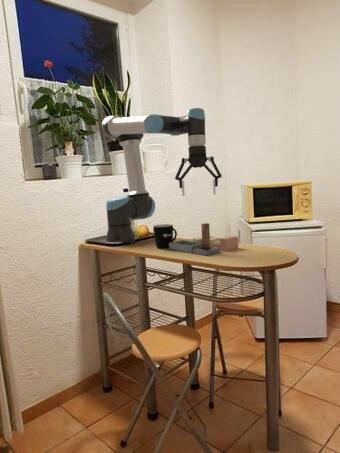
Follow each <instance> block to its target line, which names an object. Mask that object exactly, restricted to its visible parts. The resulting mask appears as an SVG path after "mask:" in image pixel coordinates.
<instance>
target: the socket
mask: <svg viewBox="0 0 340 453" xmlns="http://www.w3.org/2000/svg"><path fill="white" fill-rule="evenodd" d="M192 250H193V253H192V255H193V254H195V255H200V256H206V257H208V256H213V255H216V254H219V253H221V247H212V246H210V249H207V250H205V249H202V247H198V248H193V249H192Z"/></svg>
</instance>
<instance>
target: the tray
mask: <svg viewBox="0 0 340 453" xmlns="http://www.w3.org/2000/svg"><path fill="white" fill-rule="evenodd" d="M198 247H202V243H200V242H193V240H185V239H184V240H183V239H182V240H175V241H173V242H171V243H169V248H168V249H169V250H170V251H175V252H180V253H182V252H183V253H186V254H188V253H189V254H193V250H192V249H193V248H198Z"/></svg>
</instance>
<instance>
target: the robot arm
mask: <svg viewBox="0 0 340 453" xmlns="http://www.w3.org/2000/svg"><path fill="white" fill-rule="evenodd" d="M186 111H187V112H186V115H184V116H172V115H171V116H170V115H162V114H161V115H160V114H158V113H156V114H154V113H153V114H148V115H141V116H140V115H139V116H125V115H124V116H123V115H109V116H107V117H105V118H104V119H103V121H102V122H101V129H102V132H103V134H104V136H106V137H107V138H109V139H113V140H118V142H119V145H120V146H121V147H122V150H123V156H124V157H123V158H124V163H125V168H126V169H125V171H126V176H127V179H126V180H127V183H128V190H129V191H128V194H127V195H121V196H116V197H112V198H109V199H107V201H106V207H105V209H106V216H107V227H108V228H107V232H106V235H105V236H106V237H105V242H106V241H107V242H126V243H131V244H134V243H136V242H135V239H136V236H135V234H134V233H135V232H134V230H133V228H132V221H138V220H146V219H149V218H151V217H152V216H153V214H154V213H155V210H156V202H155V199H154V198H153V197H151V196H150V193H149V192H148V191H147V189H146V184H145V178H144V171H143V163H142V156H141V149H140V144H141V143H142V139H143V138H144V135H145V134H163V135H170V136H172V137H175V136H177V137H178V136H182V135H185V134H187V143H188V146H189V147H188V158H186V157H185V158H184V157H182V158H181V164H180V165H179V168H178V170H177V173H176V175H175V178H174V179H175V180H176V181H178V182H179V183H178V185H179V189H181V192H182V194H181V195H182V197H184V196H186V195H185V181H184V179H185V177H186V176H187V174H189V172H190V171H191V170H192V168H194V169H196V168H201V169H202V168H205V169H206V171H207V172H208V173H209V174H210V175H211V176H212V177H213V178H214V179H212V182H213V183H212V184H213V188H212V189H213V191H212V192H213V195H215V196H216V188H217V187H218V186H219V185H218V181H219V179H220V178H222V173H221V172H220V170H219V167H217V164H216V163H215V158H214V156H207V146H206V144H207V141H206V137H207V136H206V115H205V114H206V113H205V110H204V109H203V108H202V107H201V108H199V107H194V108H193V107H192V108H189V109H187V110H186ZM208 161H209V162H211V165H212V167H213V168H214V171H215V172H216V174H215V173H214V172H213V170H211V168H210V167H209V166H208V165H207V164H206V163H207V162H208ZM187 162H188V163H189V166H188V167H187V168H186V170H185V171H184V172H183V173H182V171H183V168H184V166H185V164H187ZM181 173H182V175H181Z"/></svg>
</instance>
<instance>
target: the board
mask: <svg viewBox="0 0 340 453" xmlns="http://www.w3.org/2000/svg"><path fill="white" fill-rule="evenodd" d="M221 238H222V237H219V236H218V237H216V236H210V246H212V247H219V246H220V247H221V245H220V239H221ZM192 241H193V242H200V243H202V236H198V237H195V238H192ZM220 247H219V248H220Z"/></svg>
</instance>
